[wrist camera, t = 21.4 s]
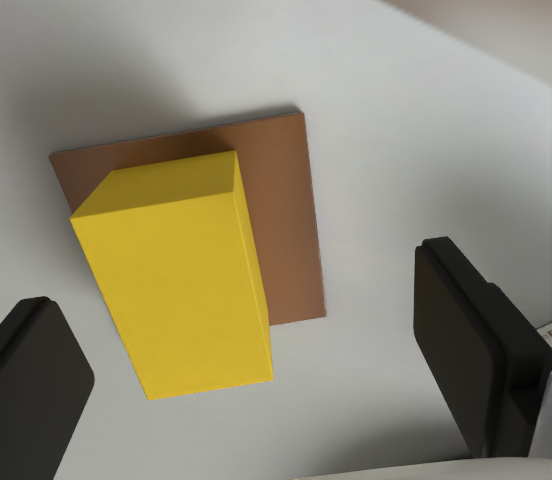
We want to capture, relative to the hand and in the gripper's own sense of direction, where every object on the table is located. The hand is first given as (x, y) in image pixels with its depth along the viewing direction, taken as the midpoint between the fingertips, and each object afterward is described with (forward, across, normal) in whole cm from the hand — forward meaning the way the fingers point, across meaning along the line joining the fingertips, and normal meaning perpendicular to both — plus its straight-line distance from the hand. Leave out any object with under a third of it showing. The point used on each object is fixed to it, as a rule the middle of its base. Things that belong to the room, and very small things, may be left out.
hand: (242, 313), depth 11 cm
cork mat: (+8, +2, +2) cm, 8 cm away
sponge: (+7, +3, +2) cm, 8 cm away
